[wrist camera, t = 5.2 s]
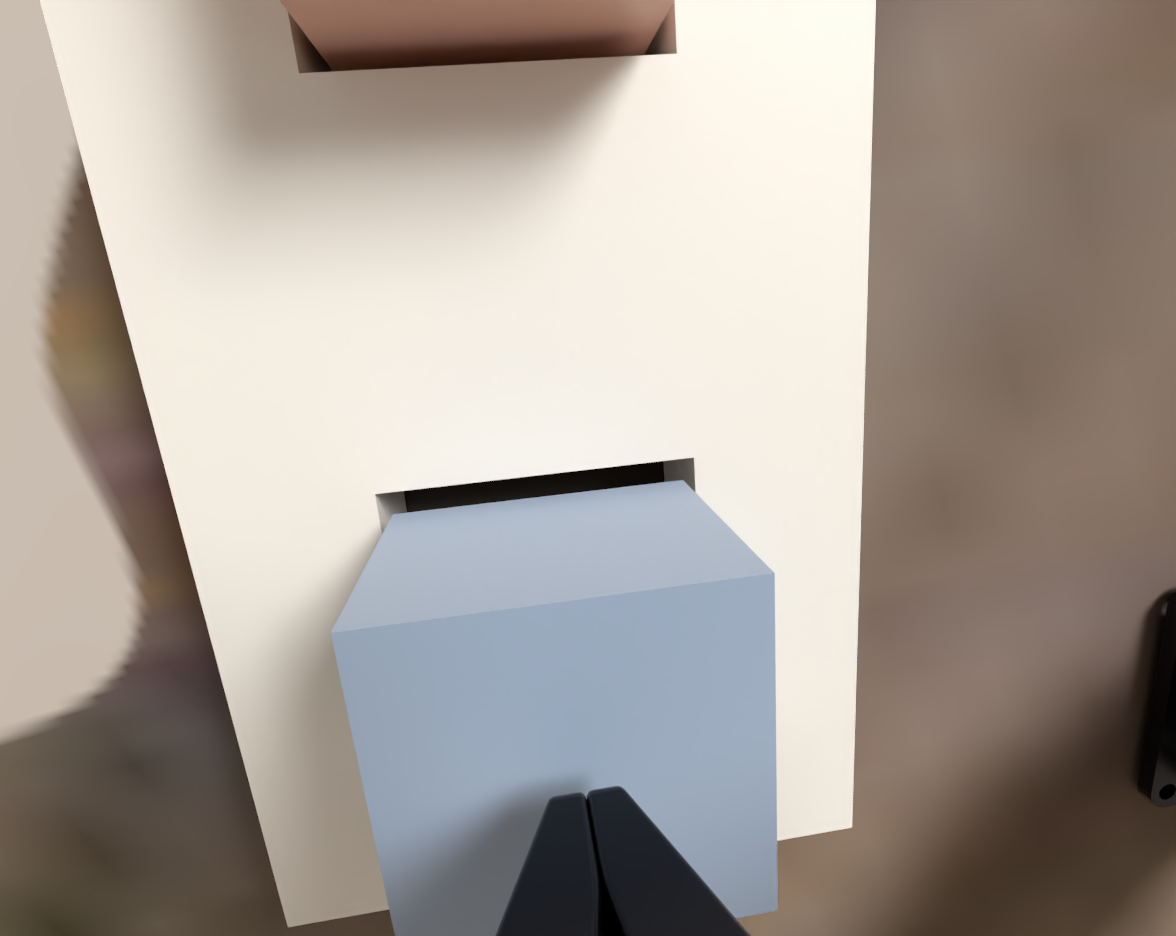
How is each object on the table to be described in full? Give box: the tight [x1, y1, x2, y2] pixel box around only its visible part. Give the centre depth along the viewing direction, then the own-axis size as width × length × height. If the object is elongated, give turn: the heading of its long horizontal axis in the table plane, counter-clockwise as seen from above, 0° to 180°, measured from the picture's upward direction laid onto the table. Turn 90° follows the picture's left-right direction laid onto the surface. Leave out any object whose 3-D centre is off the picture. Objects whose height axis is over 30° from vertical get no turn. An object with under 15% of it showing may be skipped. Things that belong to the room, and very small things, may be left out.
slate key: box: [331, 480, 778, 936], centre depth 10 cm, size 5×5×4 cm
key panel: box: [39, 0, 876, 927], centre depth 12 cm, size 24×12×2 cm, turn 5°
